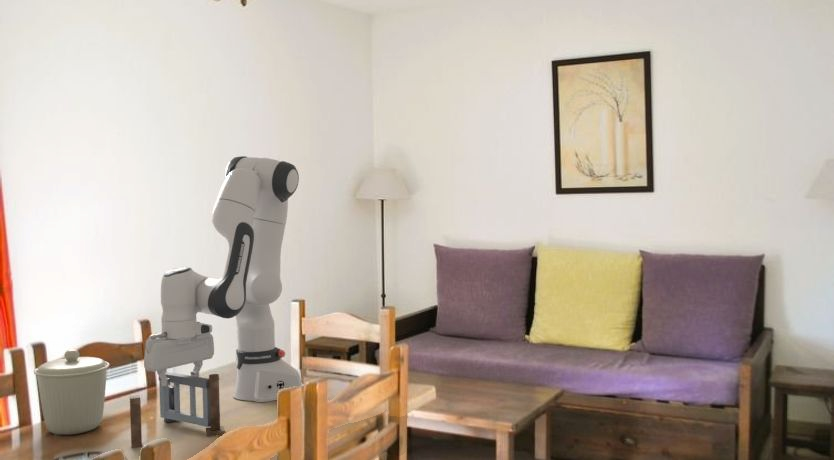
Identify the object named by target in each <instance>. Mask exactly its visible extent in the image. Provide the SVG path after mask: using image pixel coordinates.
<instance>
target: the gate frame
mask: <svg viewBox="0 0 834 460" xmlns="http://www.w3.org/2000/svg"><path fill="white" fill-rule="evenodd" d="M208 379H209V394H210V427H205V433H206V437H215V436H216V435H218V436H223V435H222V434H224V433H225V434H226V429H225V427H224V426H223V425H222V426H221V416H220V415H221V413H220V410H221V409H220V408H221V407H220V376H219V374H218V373H212V374H209V375H208ZM141 401H142V400H141V395H140V394H139V395H130V396H129V411H130V412H129V414H130V415H129V416H130V417H129V418H130V442H131V443H130V445H131V448H140V447H142V446H143V441H142V440H143V437H142V435H143V434H142V433H143V432H142V411H141V410H142V408H141V405H142V402H141ZM216 437H217V436H216Z"/></svg>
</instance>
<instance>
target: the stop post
mask: <svg viewBox="0 0 834 460" xmlns="http://www.w3.org/2000/svg"><path fill="white" fill-rule="evenodd" d="M168 389H169V409H170V410H175V406H174V385H169V386H168ZM163 421H164V422H165V423H177V422H178V423H179V422H180V421H177V420H172V419H167V418H163Z"/></svg>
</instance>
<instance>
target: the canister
mask: <svg viewBox="0 0 834 460" xmlns="http://www.w3.org/2000/svg"><path fill="white" fill-rule="evenodd" d="M110 366H111V365H110V363H109V362H108V361H105V360H104V359H102V358H100V357H94V356H93V357H92V356H80V352H79V350H77V349H73V348H72V349H67V350H66V351H65V352H64V358H59V359H53V360H50V361H47V362H44V363H42V364H41V365H39V366H38V367H37V368H35V369H34V370H33V374H34V375H35V376H36V378H37V385H38V391H39V397H40V403H41V404H40V405H41V409H42V415H43V419H44V424H45V427H46V429H47V430H48V432H50V433H52V434H53V435H54V434H55V435H59V436H60V435H61V436H66V435H67V436H68V435H78V434H83V433H87V432H90V431H92V430H95V429H96V428H97V427H99V426H100V424H101V423H102V421H103V417H104V409H105V398H106V385H107V376H108V375H107V374H108V368H109V367H110Z"/></svg>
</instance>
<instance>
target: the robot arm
mask: <svg viewBox="0 0 834 460" xmlns="http://www.w3.org/2000/svg"><path fill="white" fill-rule="evenodd" d="M224 178H225V179H224V182H223V184H222V186H221V188H220V191H219V193H218V195H217V198H216V201H215V204H214V207H213V210H212V216H211V217H212V219H211V220H212V224H213V227H214V228H215V231H217V232H218V233H219V234H220V235H221V236H222V237H223V238H225V239H226V240H227V243H228V253H227V254H228V255H227V258H226V264H225V268H224V272H223V275H222V276H221V278H212V277H209V276H205V275H202V274H200V273H198V272H196V271H194V270H193V268H192V267H187V266H181V267H174V268H171V269H169V270H167V271H166V272H164V274H163V275H162V277H161V283H160V284H161V285H160V305H161V308H162V313H161V314H162V315H161V332H160V333H157V334H155V333H154V334H151V335H149V337H148V338H147V339H146V340H145V344H144V345H145V350H144V360H143V363H144V364H143V367H144V368H145V370H146V371H148V372H153V373H154V372H156V373H157V375H158V378H159V377H160V378H161V384H162V386H168V387H169V386H171V382H170V379H169V378H167V377H166V375H165V373H167V372H168V369H173V368H176V367H180V366H186V365H189V364H193V365H194V366H193V370H192V371H190V376H195V377H200V372H201V369H202V367H203V363H204V361H206V360H211V359H212V358H213V356H214V355H215V342H214V336H213V334H212V332H213V325H212V324H207V323H203V322H201V321H197V313H202V314H206V315H211V316H212V315H213V316H217V317H219V318H222V319H232V318H234V317H235V320H236V334H237V336H236V338H237V339H236V341H237V349H236V350H235V351H236V352H235V362H236V363H235V365H236V369H237V370H236V372H237V373H236V374H237V375H236V382H235V387H234V391H233V394H232V395H233V398H235V399H237V400H242V401H249V402H250V401H251V402H252V401H253V402H256V403H257V402H258V403H265V402H273V401H277V393H278V391H279V390H281V389H284V388H289V387H293V386H302V387H303V386H304V385H305V384H304V383H302V380H301V379H302V377H301V375H300V373H299V371H298V370H297V369H296V368H295V367H294V366H292V365H291V364H289V363H288V362H287V361H285V360H284V359H282V358H285V356H286V352H285V350H284V349H281V348H278V347H277V346H276V344H275V343H276V342H275V341H276V339H275V337H276V336H275V320H274V317H273V314H272V311H271V306H270V304H272V303H274V302H276V301H277V300H278V299H279V298H280V297H281V294H282V291H283V283H282V281H281V252H282V245H283V241H284V235H285V230H286V224H287V218H288V207H289V205H288V204H289V198H291V197H292V196H293V195H294V193H295V192H296V190H297V189H298V186H299V180H300V175H299V172H298V169H297V167H296V165H294V164H292V163H290V162H287V161H283V160H282V161H280V160H276V159H273V158H269V157H251V156H250V157H249V156H245V155H244V156H241V155H240V156H236V157H235V156H234V157H233V158H232V159H231V160H230V161H229V162H228V163H227V165H226V167H225V173H224Z"/></svg>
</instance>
